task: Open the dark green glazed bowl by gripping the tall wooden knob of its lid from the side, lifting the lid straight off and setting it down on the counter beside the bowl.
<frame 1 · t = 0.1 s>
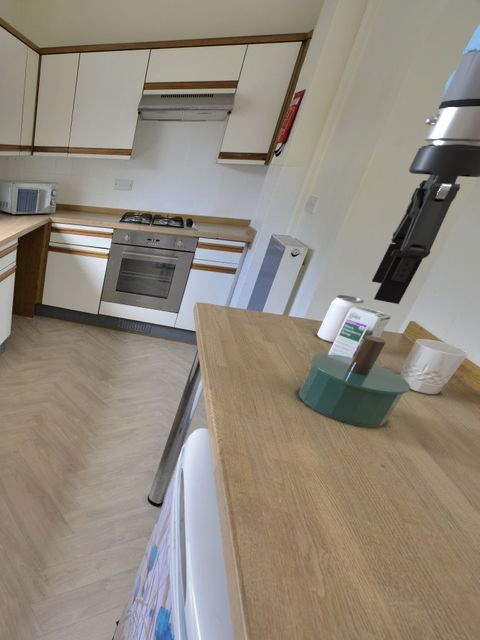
hand: (383, 291, 65), 26 cm above the countertop, tool pointing down, fingers open, 13 cm apart
syrup box: (342, 366, 99), on the countertop
bowl: (339, 406, 83), on the countertop
bowl lid: (356, 374, 79), point 7 cm above the countertop, touching bowl
can: (330, 339, 114), on the countertop
white cup: (416, 387, 92), on the countertop
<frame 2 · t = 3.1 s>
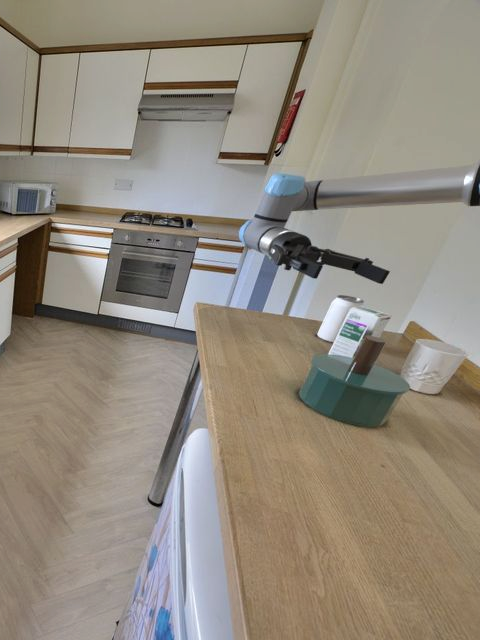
hand: (351, 274, 84), 24 cm above the countertop, tool horizontal, fingers open, 13 cm apart
nothing on the countertop moved.
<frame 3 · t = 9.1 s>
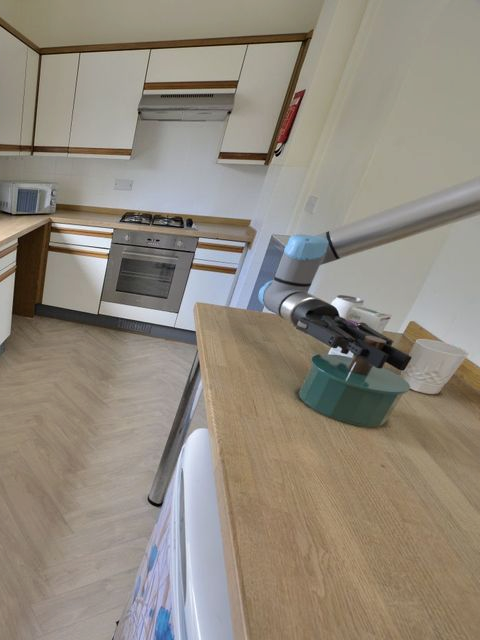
hand: (394, 362, 72), 13 cm above the countertop, tool horizontal, fingers closed on bowl lid, 3 cm apart
bowl lid: (356, 374, 79), point 7 cm above the countertop, touching bowl, gripper
everything else where it was.
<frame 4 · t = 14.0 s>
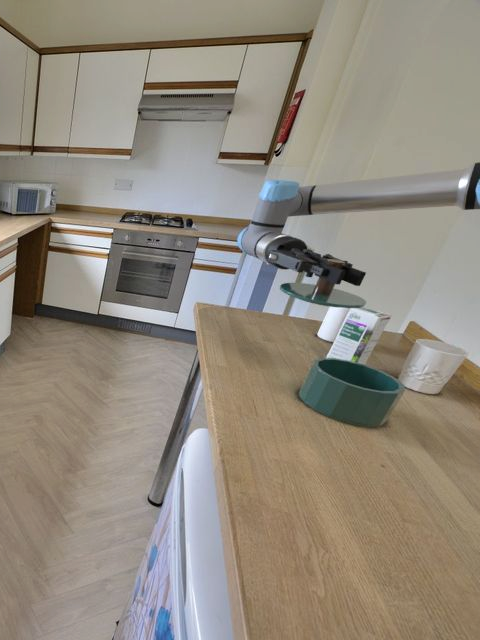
hand: (350, 278, 80), 24 cm above the countertop, tool horizontal, fingers closed on bowl lid, 3 cm apart
bowl lid: (320, 295, 87), point 19 cm above the countertop, touching gripper
everything else where it was.
when the fingers open (6 cm above the countertop, at t = 19.2 s): bowl lid stays where it is, point 1 cm above the countertop.
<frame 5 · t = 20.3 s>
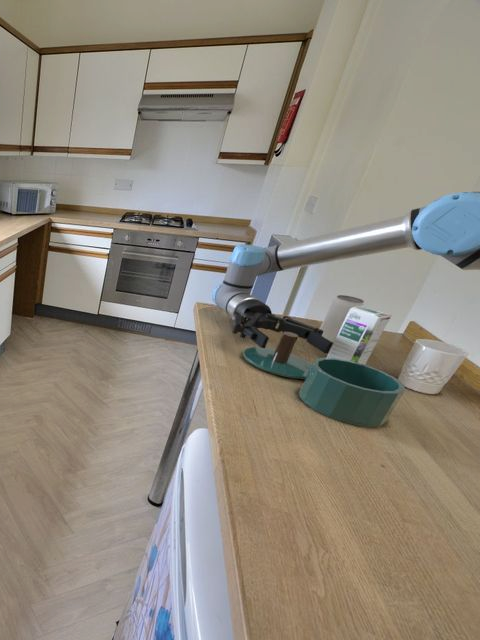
hand: (297, 345, 92), 7 cm above the countertop, tool horizontal, fingers open, 13 cm apart
bowl lid: (278, 362, 98), point 1 cm above the countertop
everything else where it was.
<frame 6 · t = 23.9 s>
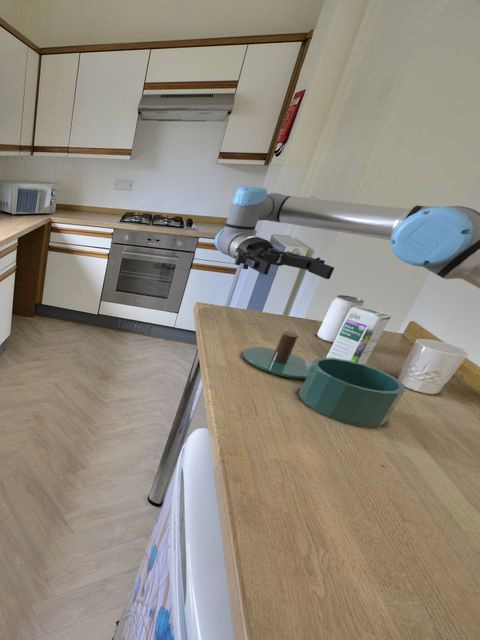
hand: (298, 271, 94), 22 cm above the countertop, tool horizontal, fingers open, 13 cm apart
nothing on the countertop moved.
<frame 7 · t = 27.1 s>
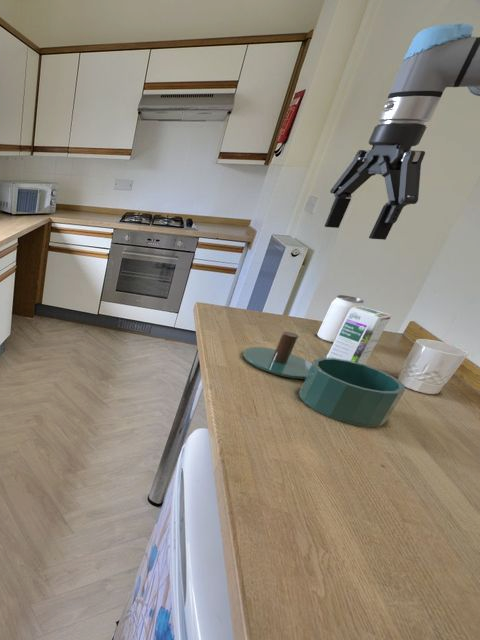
hand: (352, 232, 90), 31 cm above the countertop, tool pointing down, fingers open, 13 cm apart
nothing on the countertop moved.
at the end: bowl lid inside the target area (0.0 cm from its centre), point 0.6 cm above the countertop; bowl lid tilted 0°; the gripper is holding nothing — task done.
